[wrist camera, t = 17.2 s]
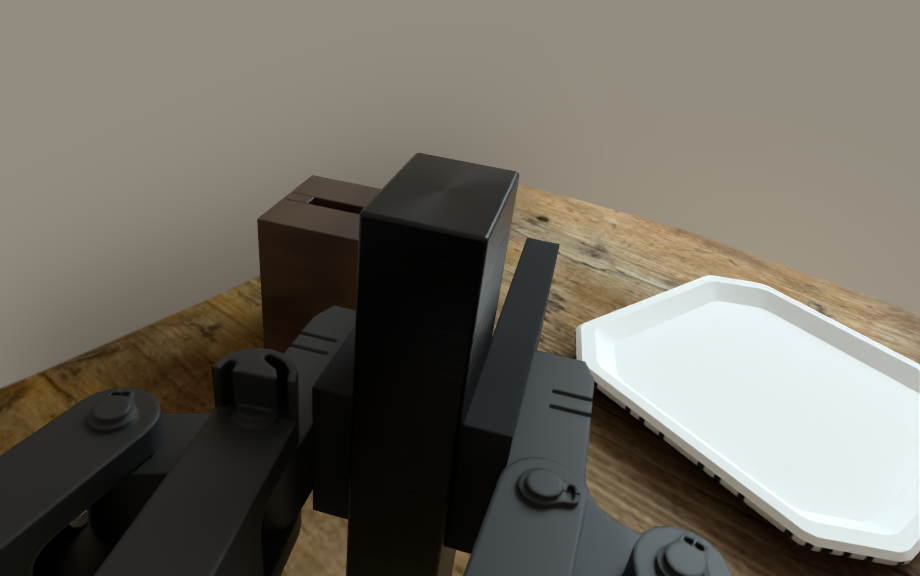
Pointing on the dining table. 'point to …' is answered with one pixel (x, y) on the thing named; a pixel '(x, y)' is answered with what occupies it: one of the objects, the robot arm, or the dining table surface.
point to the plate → (774, 409)
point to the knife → (420, 354)
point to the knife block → (309, 255)
